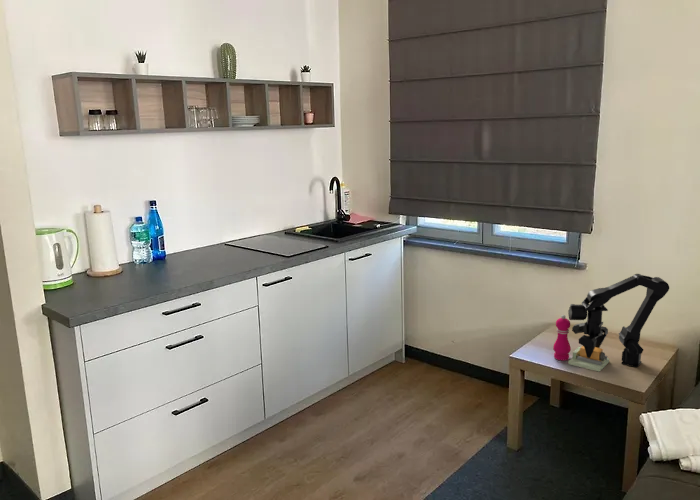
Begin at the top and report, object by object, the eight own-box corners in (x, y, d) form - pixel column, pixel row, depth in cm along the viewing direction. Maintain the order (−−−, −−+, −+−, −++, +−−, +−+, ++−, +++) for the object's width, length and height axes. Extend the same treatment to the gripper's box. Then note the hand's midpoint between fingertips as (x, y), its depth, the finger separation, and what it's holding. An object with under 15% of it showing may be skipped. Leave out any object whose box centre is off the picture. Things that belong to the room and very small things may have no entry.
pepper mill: (557, 353, 263) (559, 311, 259) (573, 357, 258) (575, 314, 254) (549, 358, 258) (551, 315, 254) (565, 362, 253) (567, 319, 249)
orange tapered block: (605, 360, 250) (605, 349, 249) (601, 363, 247) (602, 352, 246) (583, 355, 256) (583, 344, 255) (579, 358, 253) (580, 347, 252)
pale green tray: (608, 361, 252) (609, 352, 251) (599, 371, 243) (600, 361, 242) (578, 354, 260) (579, 345, 259) (568, 363, 252) (568, 354, 251)
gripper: (583, 310, 259) (581, 343, 263) (567, 322, 246) (565, 356, 249) (609, 315, 252) (607, 348, 256) (594, 328, 239) (592, 363, 242)
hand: (592, 354), depth 251 cm, fingers open, 9 cm apart
